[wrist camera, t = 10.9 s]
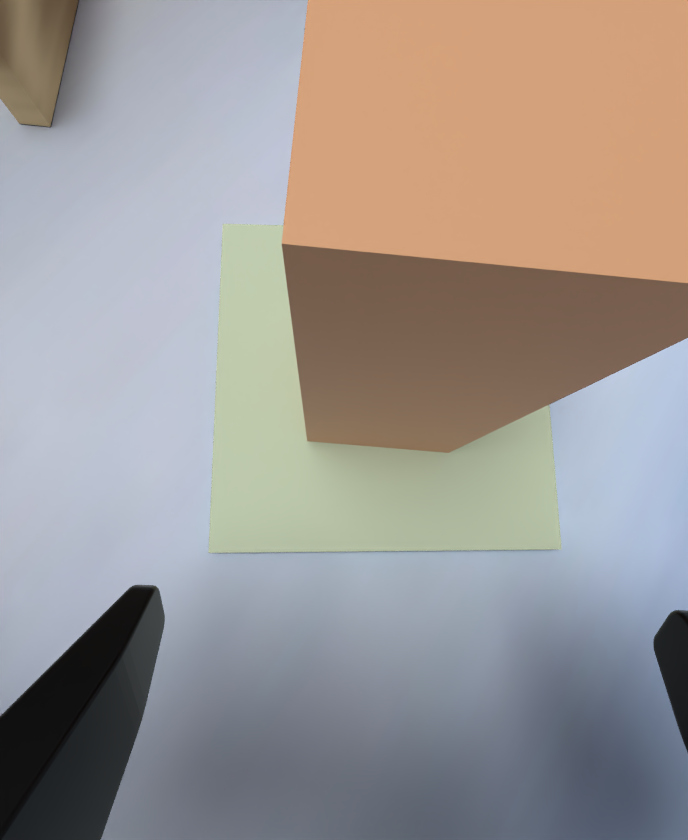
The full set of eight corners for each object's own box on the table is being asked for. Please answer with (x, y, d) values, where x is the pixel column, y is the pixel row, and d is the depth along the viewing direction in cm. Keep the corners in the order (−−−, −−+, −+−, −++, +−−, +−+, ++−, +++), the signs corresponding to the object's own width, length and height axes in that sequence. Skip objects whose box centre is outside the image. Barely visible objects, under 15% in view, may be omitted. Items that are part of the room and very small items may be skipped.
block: (448, 452, 18) (782, 291, 5) (307, 440, 18) (281, 244, 5) (453, 319, 19) (743, -99, 6) (319, 307, 19) (324, -152, 6)
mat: (211, 552, 17) (208, 552, 17) (224, 229, 19) (222, 223, 19) (556, 548, 18) (561, 549, 17) (530, 237, 20) (534, 231, 20)
